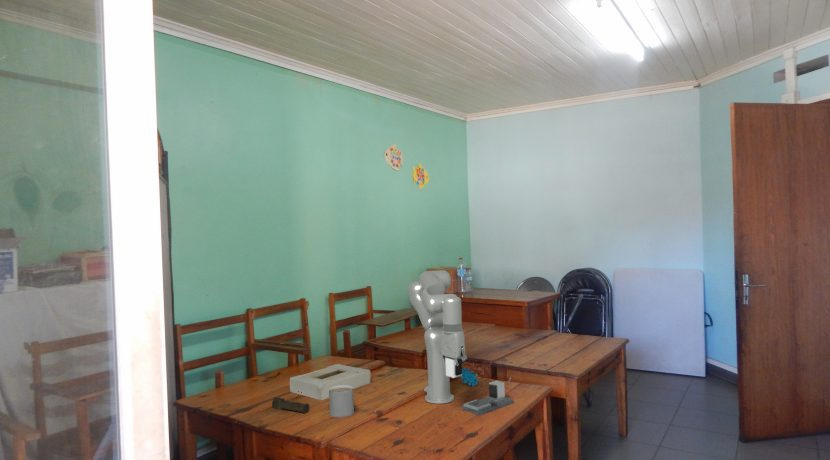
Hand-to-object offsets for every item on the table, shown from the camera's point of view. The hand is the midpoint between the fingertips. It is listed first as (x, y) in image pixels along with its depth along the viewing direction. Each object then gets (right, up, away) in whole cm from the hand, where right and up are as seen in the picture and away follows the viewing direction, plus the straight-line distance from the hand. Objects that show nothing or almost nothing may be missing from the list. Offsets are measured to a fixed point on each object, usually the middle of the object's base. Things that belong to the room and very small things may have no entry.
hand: (453, 373), depth 207 cm
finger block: (0, -1, 0) cm, 1 cm away
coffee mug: (-45, -19, +8) cm, 49 cm away
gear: (+11, -17, +40) cm, 45 cm away
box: (-56, -20, +43) cm, 74 cm away
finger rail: (+15, -16, +9) cm, 24 cm away
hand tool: (-69, -20, +12) cm, 73 cm away
